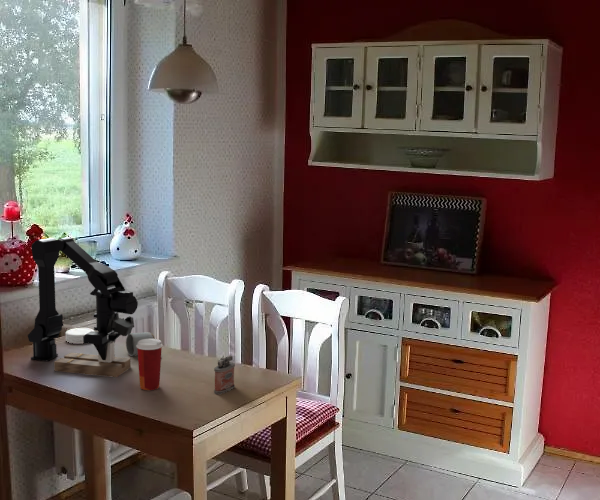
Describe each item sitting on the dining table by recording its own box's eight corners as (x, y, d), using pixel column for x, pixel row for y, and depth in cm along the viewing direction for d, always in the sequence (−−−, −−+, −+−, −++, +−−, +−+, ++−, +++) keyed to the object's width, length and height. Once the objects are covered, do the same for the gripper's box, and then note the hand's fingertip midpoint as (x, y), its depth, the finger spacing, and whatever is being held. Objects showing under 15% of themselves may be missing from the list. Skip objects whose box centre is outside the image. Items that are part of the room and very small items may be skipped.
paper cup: (167, 384, 224) (167, 339, 222) (154, 393, 217) (154, 346, 215) (144, 381, 227) (144, 336, 224) (131, 389, 219) (130, 343, 217)
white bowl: (60, 343, 263) (60, 333, 263) (73, 335, 273) (73, 326, 272) (87, 345, 262) (87, 335, 261) (99, 337, 271) (99, 328, 271)
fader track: (54, 370, 234) (54, 361, 233) (70, 361, 243) (70, 351, 243) (116, 377, 229) (116, 367, 229) (130, 367, 239) (130, 357, 238)
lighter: (220, 395, 217) (220, 362, 215) (211, 392, 219) (211, 359, 217) (237, 387, 224) (237, 355, 222) (228, 385, 225) (228, 353, 224)
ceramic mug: (157, 354, 253) (156, 332, 252) (134, 358, 248) (134, 336, 247) (143, 347, 261) (143, 326, 260) (121, 351, 256) (121, 329, 255)
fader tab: (98, 365, 234) (98, 342, 233) (103, 363, 237) (102, 340, 236) (110, 367, 233) (110, 344, 232) (114, 364, 236) (114, 341, 235)
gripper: (116, 319, 221) (116, 369, 224) (142, 305, 239) (142, 352, 242) (81, 316, 224) (82, 366, 226) (110, 302, 242) (110, 349, 244)
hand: (106, 358), depth 235 cm, fingers closed on fader tab, 3 cm apart
